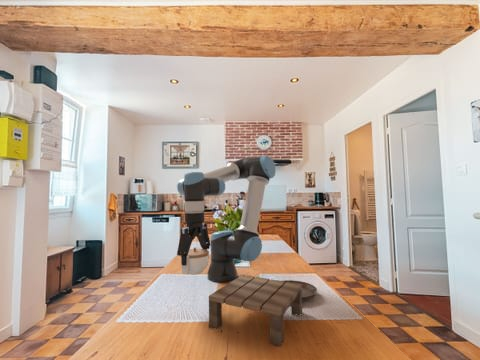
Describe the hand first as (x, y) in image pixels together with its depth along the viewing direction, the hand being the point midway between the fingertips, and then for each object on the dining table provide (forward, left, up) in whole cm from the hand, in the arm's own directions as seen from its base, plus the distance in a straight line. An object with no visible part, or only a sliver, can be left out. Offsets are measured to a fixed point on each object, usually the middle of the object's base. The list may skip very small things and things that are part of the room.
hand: (195, 269), depth 104 cm
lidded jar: (0, 0, -1) cm, 1 cm away
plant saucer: (-27, +30, -14) cm, 43 cm away
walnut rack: (-1, +26, -14) cm, 29 cm away
